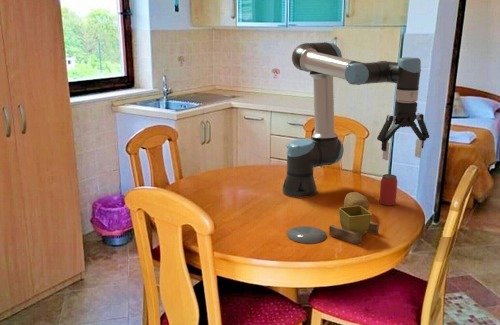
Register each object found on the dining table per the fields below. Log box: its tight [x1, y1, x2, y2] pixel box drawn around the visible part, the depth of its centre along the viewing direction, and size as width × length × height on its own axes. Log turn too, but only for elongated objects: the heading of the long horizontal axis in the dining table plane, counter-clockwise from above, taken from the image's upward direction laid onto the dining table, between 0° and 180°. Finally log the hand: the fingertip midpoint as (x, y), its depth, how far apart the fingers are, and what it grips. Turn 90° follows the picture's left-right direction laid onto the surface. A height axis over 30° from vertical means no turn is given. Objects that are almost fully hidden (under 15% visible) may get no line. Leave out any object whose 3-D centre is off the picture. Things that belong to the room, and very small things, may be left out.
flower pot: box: [338, 206, 373, 237], centre depth 175 cm, size 9×9×9 cm
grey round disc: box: [286, 225, 327, 245], centre depth 176 cm, size 14×14×1 cm
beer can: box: [379, 173, 398, 207], centre depth 205 cm, size 7×7×12 cm
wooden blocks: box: [328, 221, 380, 246], centre depth 176 cm, size 12×14×4 cm
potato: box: [343, 191, 370, 211], centre depth 195 cm, size 10×14×8 cm
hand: (401, 158), depth 184 cm, fingers open, 13 cm apart
